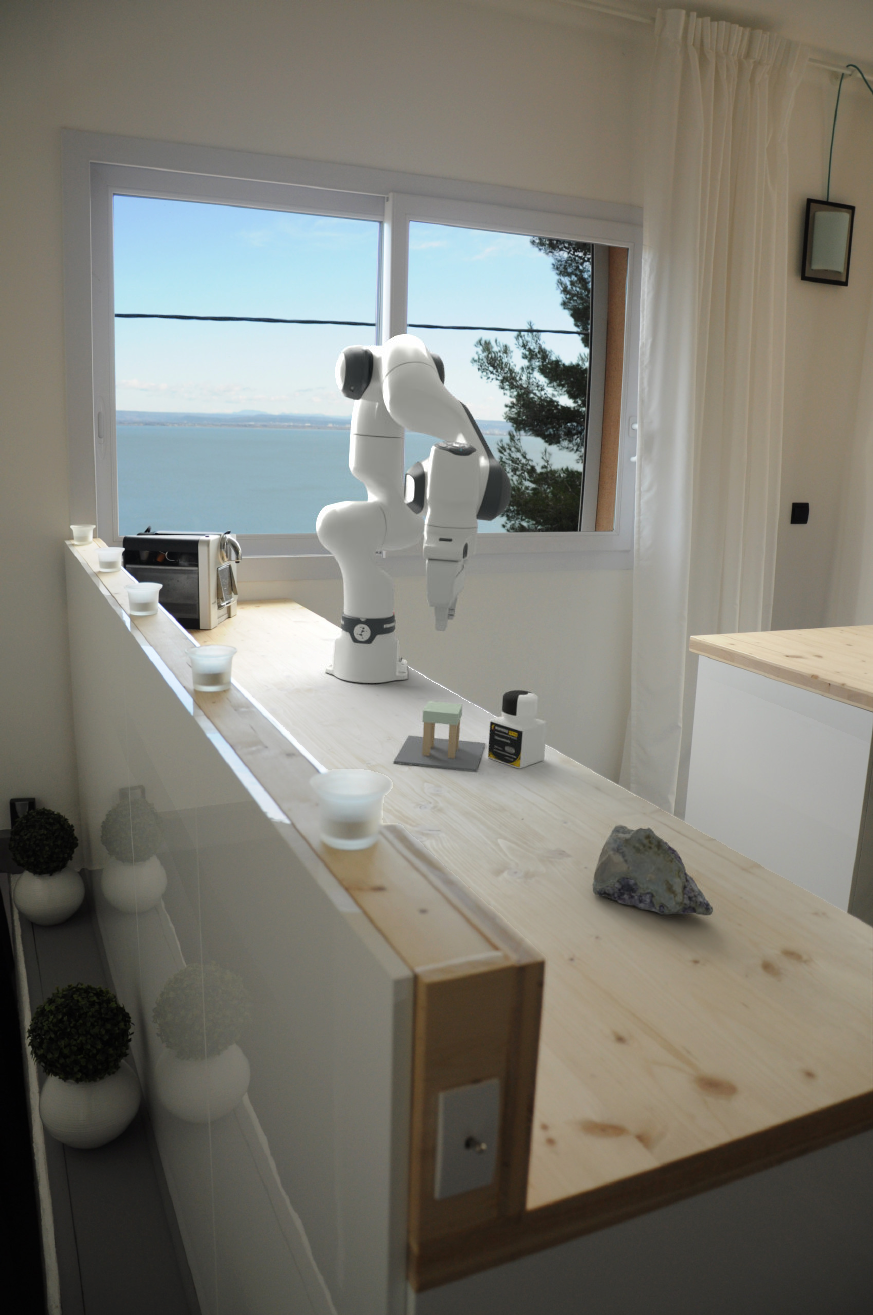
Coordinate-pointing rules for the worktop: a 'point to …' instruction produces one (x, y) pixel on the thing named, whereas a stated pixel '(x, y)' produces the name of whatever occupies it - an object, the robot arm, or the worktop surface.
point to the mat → (441, 754)
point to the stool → (441, 715)
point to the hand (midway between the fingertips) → (445, 624)
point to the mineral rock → (646, 874)
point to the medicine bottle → (517, 731)
